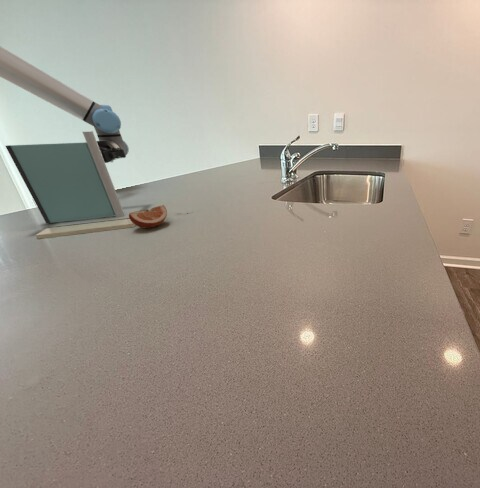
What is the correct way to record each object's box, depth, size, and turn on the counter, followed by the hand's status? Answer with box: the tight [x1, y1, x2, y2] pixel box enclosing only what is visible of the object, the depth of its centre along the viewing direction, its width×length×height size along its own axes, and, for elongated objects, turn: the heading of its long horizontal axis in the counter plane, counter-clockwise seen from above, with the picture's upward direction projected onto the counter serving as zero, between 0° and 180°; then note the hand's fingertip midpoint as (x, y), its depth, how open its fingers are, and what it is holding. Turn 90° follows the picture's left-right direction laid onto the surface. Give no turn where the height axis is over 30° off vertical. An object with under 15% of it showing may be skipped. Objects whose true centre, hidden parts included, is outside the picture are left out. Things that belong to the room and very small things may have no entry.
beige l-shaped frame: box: [35, 130, 136, 240], centre depth 66 cm, size 20×16×23 cm
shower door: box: [5, 141, 116, 224], centre depth 69 cm, size 15×9×19 cm, turn 109°
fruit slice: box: [128, 204, 168, 229], centre depth 66 cm, size 8×7×5 cm
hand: (76, 158), depth 78 cm, fingers open, 13 cm apart
